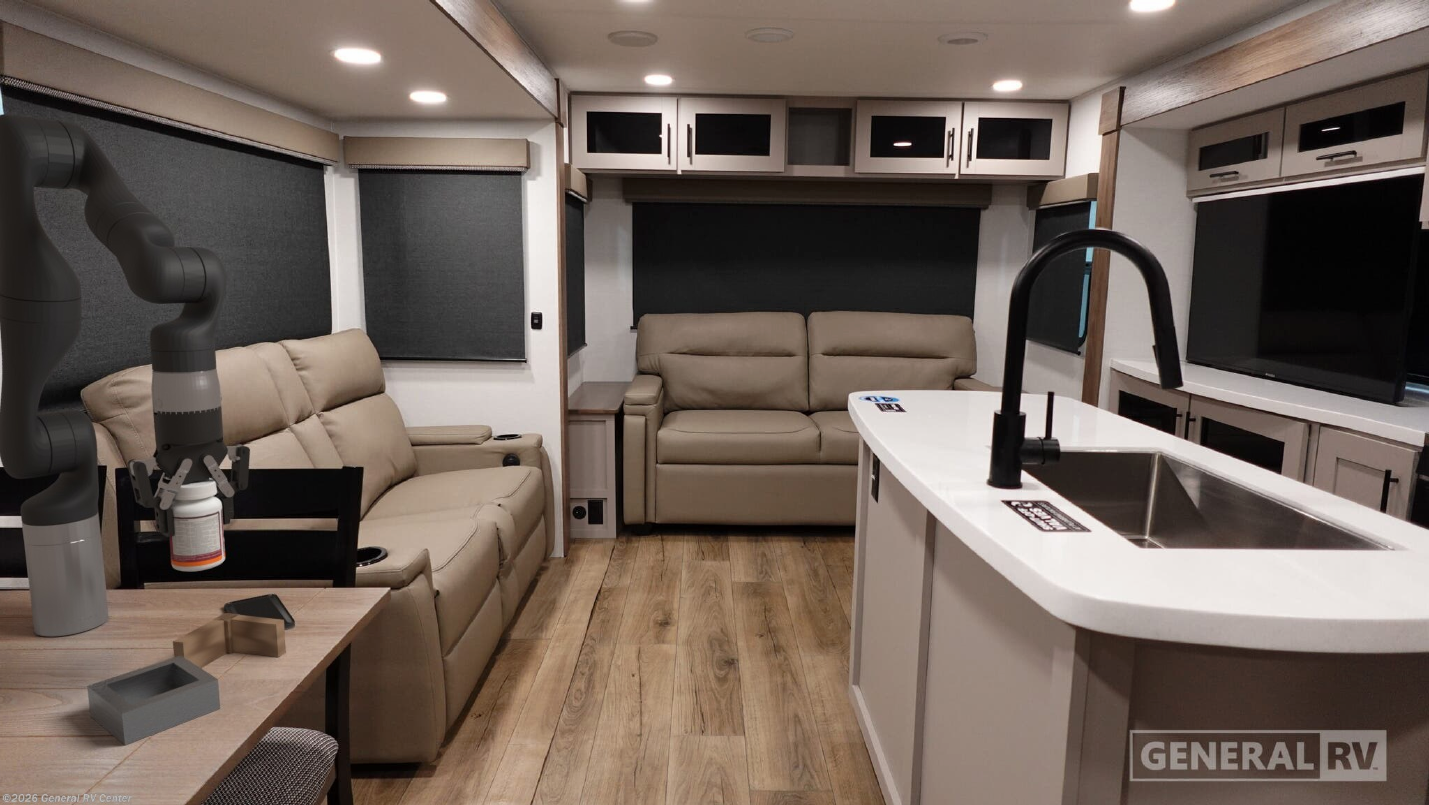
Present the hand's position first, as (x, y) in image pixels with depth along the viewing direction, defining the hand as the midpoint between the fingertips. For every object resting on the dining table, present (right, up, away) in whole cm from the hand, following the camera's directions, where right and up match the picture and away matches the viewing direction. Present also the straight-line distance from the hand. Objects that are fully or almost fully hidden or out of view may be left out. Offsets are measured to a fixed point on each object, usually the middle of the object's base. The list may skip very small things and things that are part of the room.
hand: (196, 528), depth 112 cm
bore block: (-2, -22, -5) cm, 23 cm away
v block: (-1, -20, +10) cm, 22 cm away
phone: (-4, -18, +24) cm, 30 cm away
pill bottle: (0, -5, +1) cm, 5 cm away
